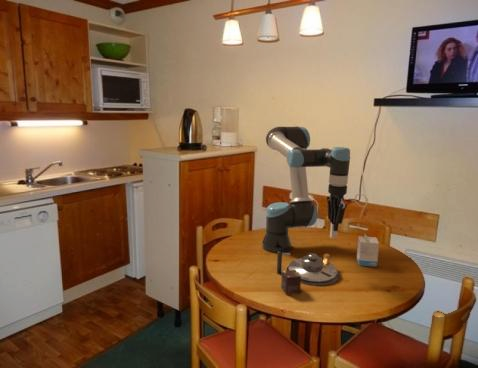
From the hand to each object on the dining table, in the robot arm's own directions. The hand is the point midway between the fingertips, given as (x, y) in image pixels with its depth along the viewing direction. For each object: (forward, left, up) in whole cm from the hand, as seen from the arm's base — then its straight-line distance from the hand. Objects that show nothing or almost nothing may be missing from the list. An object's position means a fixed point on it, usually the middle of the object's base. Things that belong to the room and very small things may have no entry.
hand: (333, 237), depth 151 cm
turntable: (-6, -6, -17) cm, 19 cm away
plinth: (-6, -6, -17) cm, 19 cm away
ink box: (+8, +22, -17) cm, 29 cm away
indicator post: (-16, -15, -17) cm, 27 cm away
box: (-5, -25, -17) cm, 31 cm away
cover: (-6, -6, -14) cm, 17 cm away
